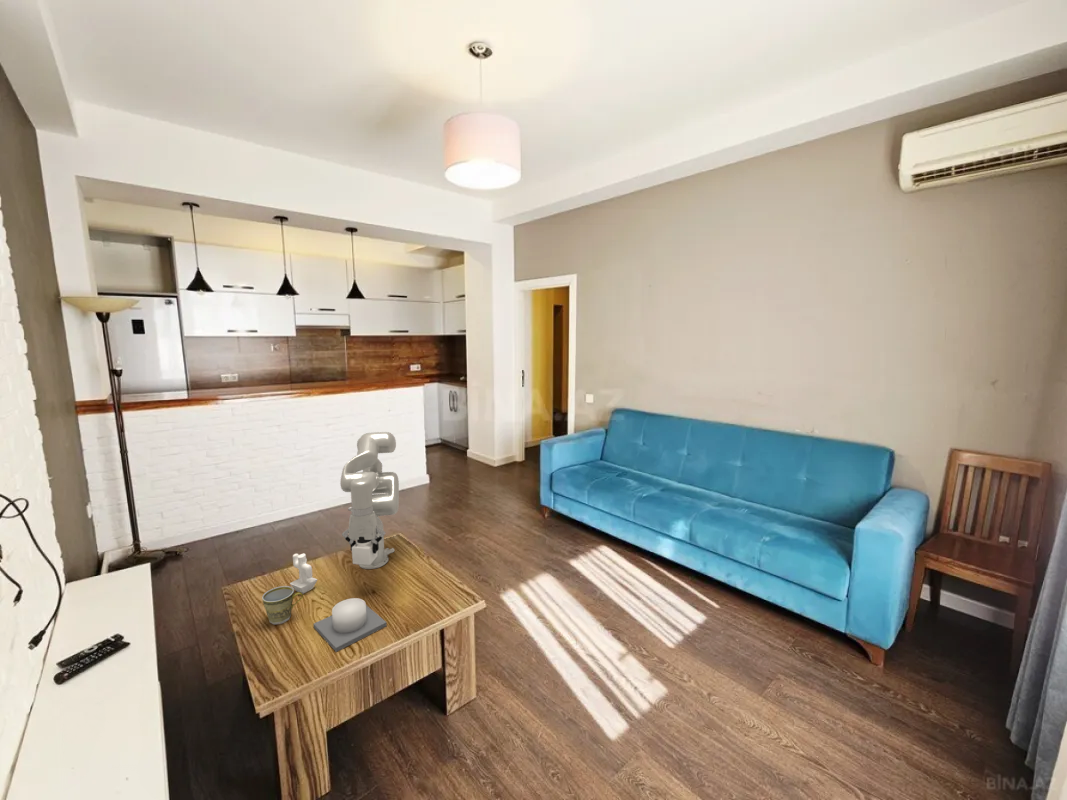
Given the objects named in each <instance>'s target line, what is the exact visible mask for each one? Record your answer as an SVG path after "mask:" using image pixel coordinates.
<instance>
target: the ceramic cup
mask: <svg viewBox="0 0 1067 800" xmlns="http://www.w3.org/2000/svg"><path fill="white" fill-rule="evenodd" d="M297 595H301V598H299V599H297V601H296V602H295V603H294V604H293V601H294V598H295V597H296V596H297ZM303 598H304V594H302V593H301V592H297V591H296V592H295V589H294V588H293V587H292V586H291V585H290V586H289V585H283V586H282V585H281V586H280V585H279V586H277V587H273V588H271V589H269V590H267V591H266V592H264V594H262V597H261V599H262V604H263V607H264V609H265V612H266V616H267V618H268V621H269V623H270V624H272V625H274V626H275V625H282V624H284V623H286V622H287V621H289V620H290V619H291V615H292V610H293V608H294V606H296V605H297V604H298V602H300V601H301V600H302V599H303Z"/></svg>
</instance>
